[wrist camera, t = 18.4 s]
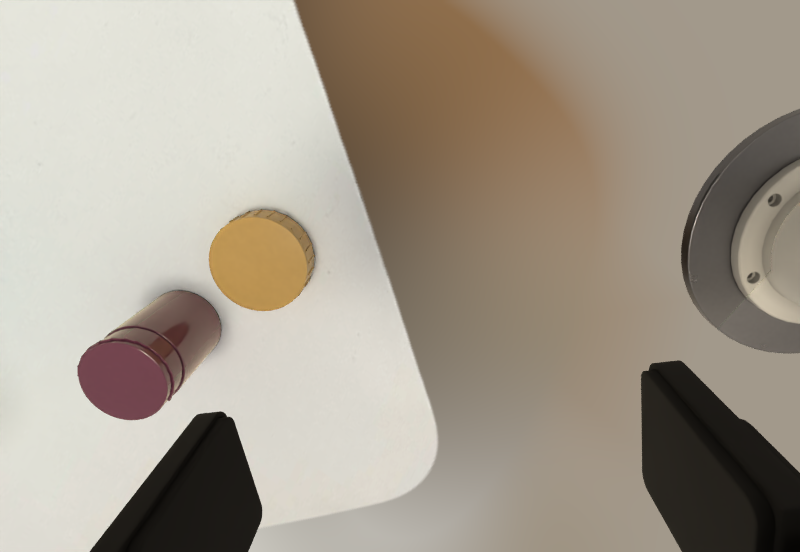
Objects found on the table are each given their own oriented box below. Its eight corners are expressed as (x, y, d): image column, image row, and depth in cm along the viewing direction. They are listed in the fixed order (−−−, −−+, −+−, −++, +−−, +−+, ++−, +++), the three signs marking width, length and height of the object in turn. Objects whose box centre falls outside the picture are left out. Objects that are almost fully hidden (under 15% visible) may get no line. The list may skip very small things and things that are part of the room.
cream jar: (225, 300, 35) (173, 353, 27) (216, 364, 36) (164, 430, 29) (151, 282, 34) (77, 331, 27) (146, 347, 36) (74, 410, 29)
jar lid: (234, 194, 32) (221, 200, 30) (327, 229, 33) (321, 238, 31) (211, 280, 34) (197, 291, 32) (299, 312, 35) (291, 325, 33)
